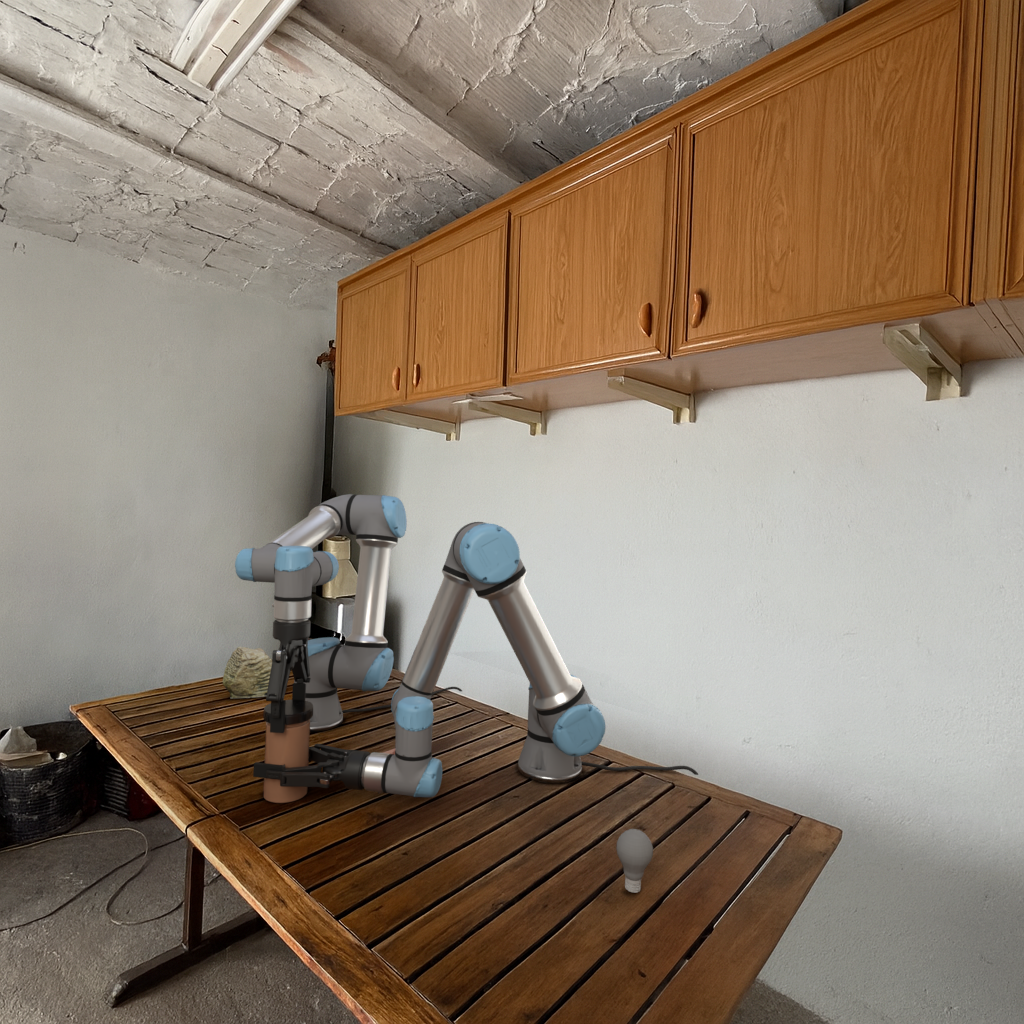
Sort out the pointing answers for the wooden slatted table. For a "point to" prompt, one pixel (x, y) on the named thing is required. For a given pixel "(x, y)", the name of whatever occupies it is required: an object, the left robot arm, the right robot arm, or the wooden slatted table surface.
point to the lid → (293, 712)
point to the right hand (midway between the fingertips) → (266, 760)
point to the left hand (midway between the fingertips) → (288, 722)
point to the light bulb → (634, 857)
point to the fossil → (247, 673)
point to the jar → (286, 759)
